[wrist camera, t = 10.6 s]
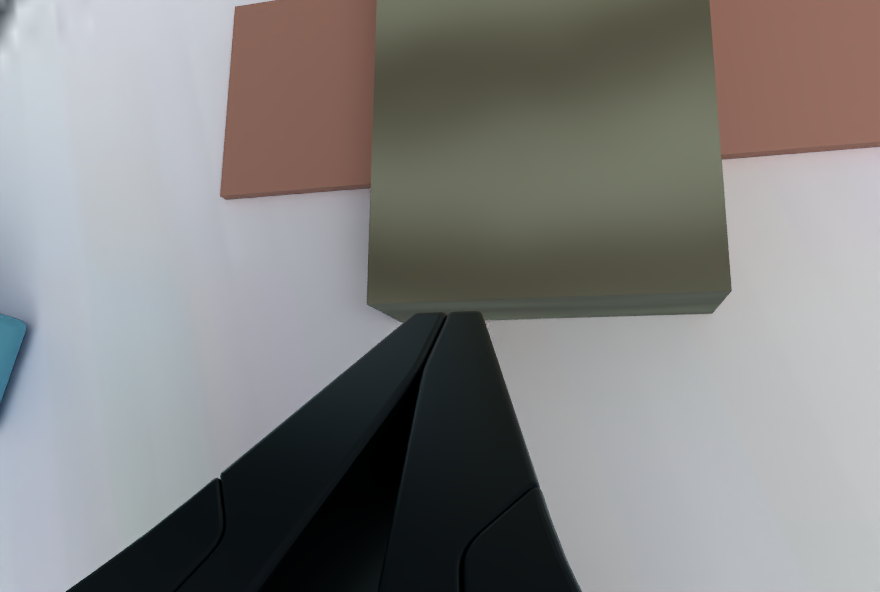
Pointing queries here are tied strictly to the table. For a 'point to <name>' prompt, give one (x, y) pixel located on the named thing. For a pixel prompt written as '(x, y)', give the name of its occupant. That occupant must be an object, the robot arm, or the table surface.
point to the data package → (9, 347)
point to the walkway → (546, 160)
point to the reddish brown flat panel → (352, 87)
